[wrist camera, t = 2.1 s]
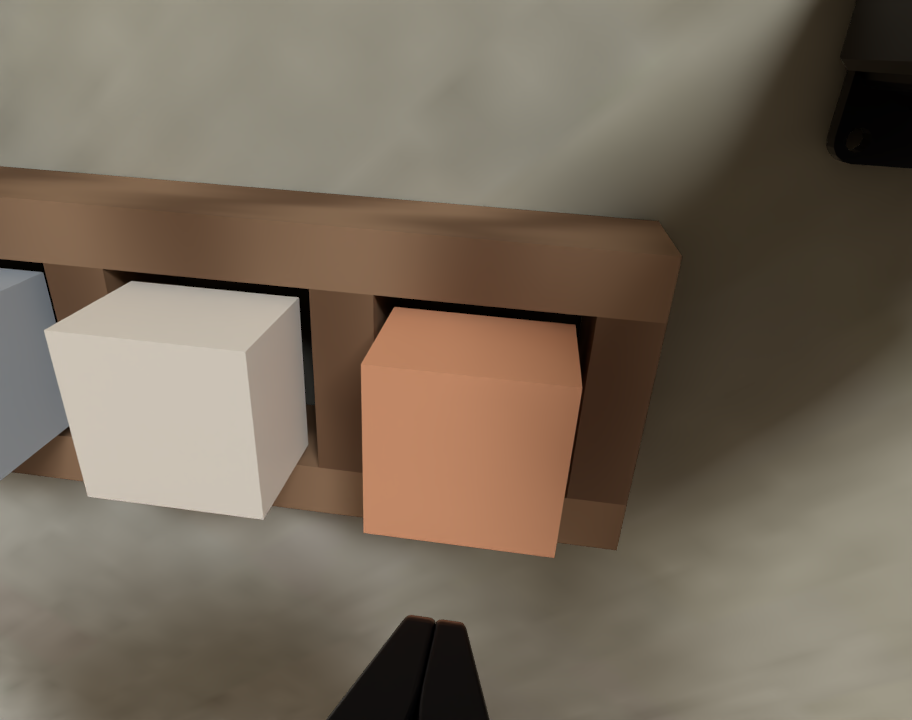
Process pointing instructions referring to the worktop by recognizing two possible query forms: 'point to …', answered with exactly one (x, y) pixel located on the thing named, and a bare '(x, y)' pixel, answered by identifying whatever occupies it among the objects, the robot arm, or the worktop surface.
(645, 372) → the three-slot wooden rack
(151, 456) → the cream cube block
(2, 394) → the grey cube
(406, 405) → the terracotta cube block
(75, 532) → the worktop surface
